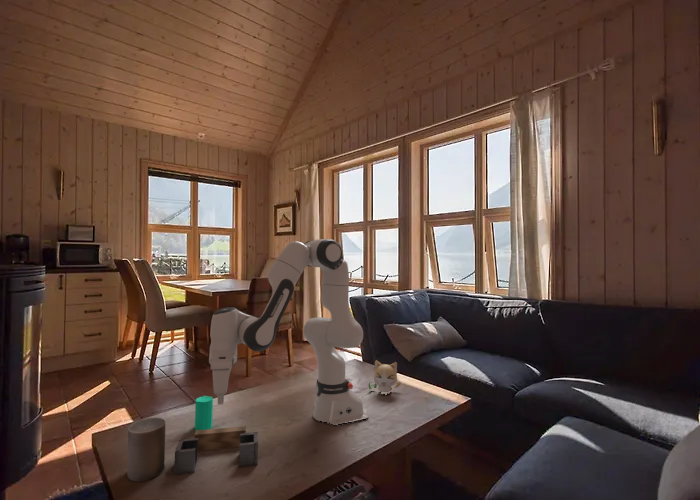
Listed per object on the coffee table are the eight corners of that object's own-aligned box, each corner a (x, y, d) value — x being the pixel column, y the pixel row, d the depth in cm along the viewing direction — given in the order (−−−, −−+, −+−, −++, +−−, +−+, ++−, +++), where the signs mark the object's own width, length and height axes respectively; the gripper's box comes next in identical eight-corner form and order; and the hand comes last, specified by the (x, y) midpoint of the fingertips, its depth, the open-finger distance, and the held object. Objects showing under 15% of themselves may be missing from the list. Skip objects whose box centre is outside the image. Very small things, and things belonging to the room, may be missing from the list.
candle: (205, 432, 130) (207, 398, 130) (191, 430, 131) (192, 396, 132) (215, 424, 136) (216, 392, 136) (201, 422, 137) (202, 390, 137)
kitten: (366, 395, 169) (367, 363, 169) (370, 387, 179) (371, 357, 179) (398, 399, 165) (399, 366, 166) (400, 391, 175) (401, 360, 175)
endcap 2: (256, 451, 118) (257, 431, 118) (257, 464, 111) (258, 443, 111) (239, 454, 117) (240, 433, 117) (239, 467, 110) (239, 445, 110)
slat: (245, 442, 125) (245, 426, 125) (245, 446, 122) (245, 430, 122) (195, 447, 121) (196, 430, 121) (193, 451, 118) (194, 434, 118)
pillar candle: (170, 462, 111) (171, 413, 111) (154, 482, 101) (155, 428, 102) (138, 462, 111) (139, 413, 111) (118, 482, 101) (120, 428, 101)
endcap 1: (174, 475, 105) (174, 452, 105) (178, 460, 112) (179, 439, 112) (194, 472, 106) (194, 450, 106) (197, 458, 113) (198, 437, 114)
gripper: (216, 349, 131) (214, 387, 130) (210, 365, 111) (208, 411, 111) (234, 348, 132) (232, 386, 132) (231, 364, 113) (230, 409, 112)
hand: (221, 398), depth 121 cm, fingers open, 8 cm apart
